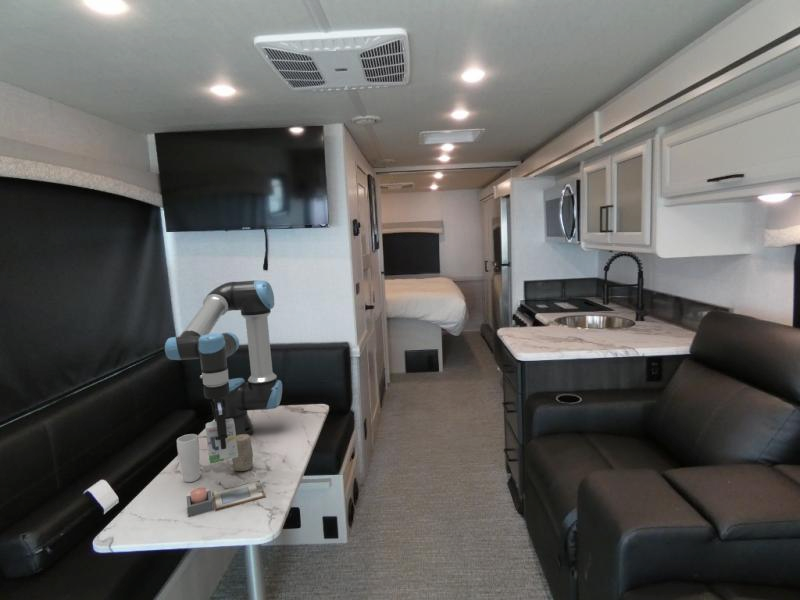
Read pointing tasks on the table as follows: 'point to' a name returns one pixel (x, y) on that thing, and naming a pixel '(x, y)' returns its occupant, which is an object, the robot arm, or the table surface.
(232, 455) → the ink box
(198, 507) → the button housing
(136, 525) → the table surface
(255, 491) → the picture frame
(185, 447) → the drinking glass
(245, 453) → the carving
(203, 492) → the button
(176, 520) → the table surface
